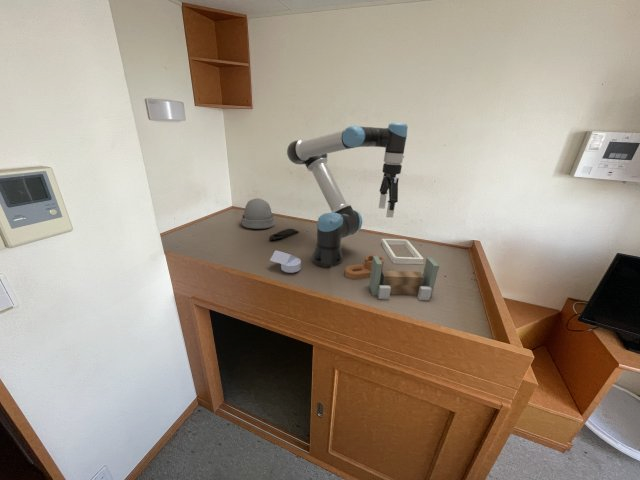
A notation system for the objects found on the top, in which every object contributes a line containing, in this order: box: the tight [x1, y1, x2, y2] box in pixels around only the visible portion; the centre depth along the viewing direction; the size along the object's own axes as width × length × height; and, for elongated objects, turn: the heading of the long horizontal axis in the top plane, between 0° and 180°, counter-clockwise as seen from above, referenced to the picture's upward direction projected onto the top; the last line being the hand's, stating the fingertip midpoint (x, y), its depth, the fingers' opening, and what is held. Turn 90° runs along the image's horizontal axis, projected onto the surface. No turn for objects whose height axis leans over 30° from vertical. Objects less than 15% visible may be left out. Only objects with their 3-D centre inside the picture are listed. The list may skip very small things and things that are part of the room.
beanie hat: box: [241, 197, 276, 230], centre depth 173 cm, size 21×21×20 cm
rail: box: [379, 270, 424, 296], centre depth 109 cm, size 16×4×8 cm, turn 92°
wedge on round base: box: [269, 250, 302, 274], centre depth 124 cm, size 9×7×13 cm
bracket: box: [344, 254, 385, 280], centre depth 122 cm, size 18×8×7 cm, turn 111°
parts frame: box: [380, 238, 425, 265], centre depth 145 cm, size 15×25×3 cm, turn 2°
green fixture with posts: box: [368, 255, 440, 301], centre depth 108 cm, size 24×12×14 cm, turn 92°
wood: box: [269, 228, 300, 241], centre depth 159 cm, size 22×7×3 cm, turn 142°
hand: (385, 212), depth 120 cm, fingers open, 13 cm apart
